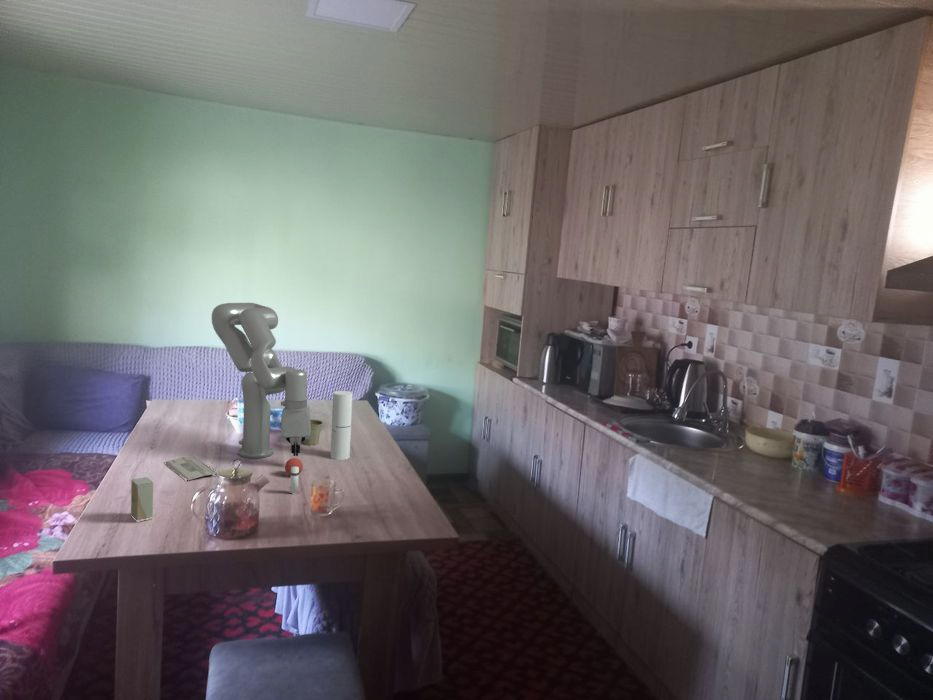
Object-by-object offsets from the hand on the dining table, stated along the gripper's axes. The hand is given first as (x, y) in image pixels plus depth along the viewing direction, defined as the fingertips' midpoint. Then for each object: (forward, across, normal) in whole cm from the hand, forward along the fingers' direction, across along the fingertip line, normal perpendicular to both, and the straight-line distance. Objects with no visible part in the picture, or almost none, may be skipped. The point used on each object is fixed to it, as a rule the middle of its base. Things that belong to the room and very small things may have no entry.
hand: (295, 455), depth 234 cm
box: (+5, -42, -42) cm, 60 cm away
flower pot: (+4, +6, +30) cm, 31 cm away
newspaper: (+5, -34, 0) cm, 35 cm away
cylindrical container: (+5, +17, +11) cm, 21 cm away
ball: (+2, -1, -9) cm, 9 cm away
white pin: (+5, -1, -26) cm, 26 cm away
